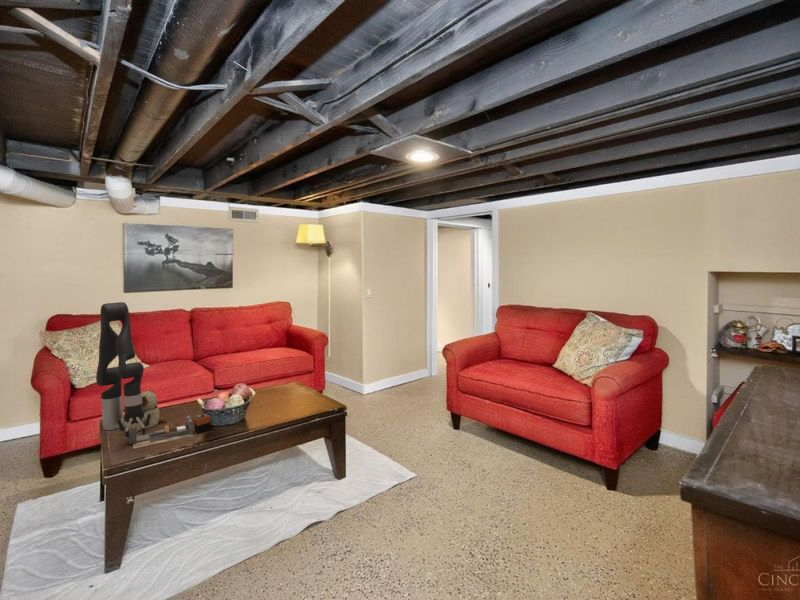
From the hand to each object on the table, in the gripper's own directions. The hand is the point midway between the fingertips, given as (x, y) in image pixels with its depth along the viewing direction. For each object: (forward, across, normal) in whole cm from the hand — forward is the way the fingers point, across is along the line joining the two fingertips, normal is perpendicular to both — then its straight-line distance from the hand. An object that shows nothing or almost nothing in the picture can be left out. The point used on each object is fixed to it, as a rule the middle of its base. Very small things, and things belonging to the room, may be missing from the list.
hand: (135, 436), depth 199 cm
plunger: (+3, -6, 0) cm, 6 cm away
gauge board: (+5, -12, 0) cm, 13 cm away
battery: (+5, -30, +3) cm, 30 cm away
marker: (+3, -20, 0) cm, 20 cm away
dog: (+4, -6, -24) cm, 25 cm away
